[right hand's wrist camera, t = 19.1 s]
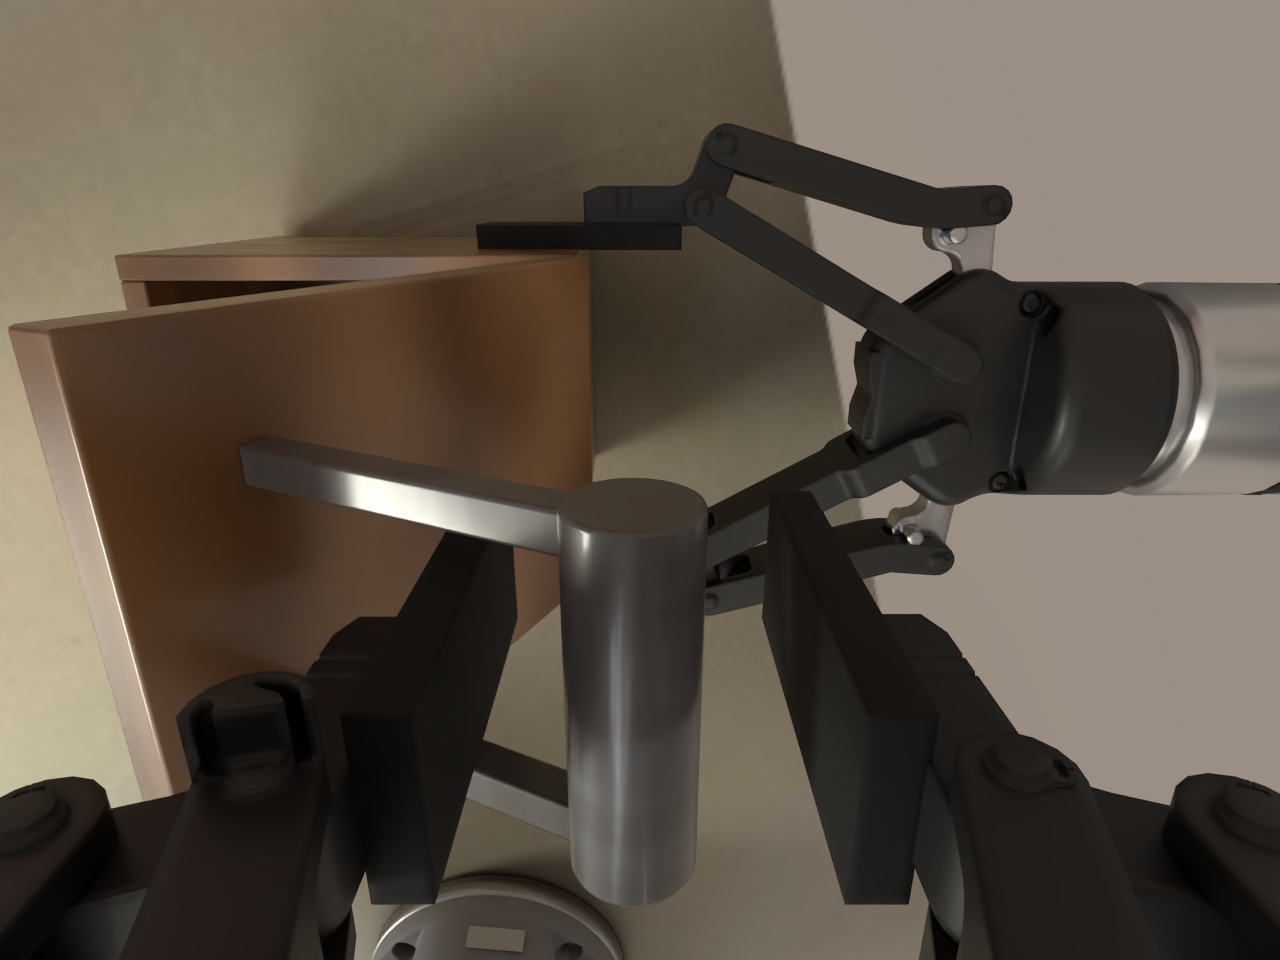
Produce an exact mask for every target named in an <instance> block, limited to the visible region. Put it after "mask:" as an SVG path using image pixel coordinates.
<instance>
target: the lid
mask: <svg viewBox="0 0 1280 960" xmlns="http://www.w3.org/2000/svg"><path fill="white" fill-rule="evenodd" d="M8 332H9V335H10V339H11V342H12V346H13V349H14V353H15V356H16V359H17V363H18V366H19V370H20V373H21V377H22V380H23V384H24V387H25V391H26V394H27V398H28V401H29V405H30V408H31V412H32V415H33V419H34V422H35V426H36V429H37V433H38V436H39V440H40V443H41V447H42V450H43V454H44V457H45V460H46V464H47V467H48V471H49V474H50V478H51V481H52V485H53V488H54V492H55V495H56V499H57V502H58V506H59V509H60V513H61V516H62V520H63V523H64V527H65V530H66V534H67V537H68V541H69V544H70V548H71V551H72V555H73V558H74V562H75V565H76V568H77V572H78V575H79V579H80V582H81V586H82V589H83V593H84V596H85V600H86V603H87V607H88V610H89V614H90V617H91V621H92V624H93V628H94V631H95V635H96V638H97V642H98V645H99V649H100V652H101V656H102V659H103V663H104V666H105V669H106V673H107V676H108V680H109V683H110V687H111V690H112V694H113V697H114V701H115V704H116V708H117V711H118V715H119V718H120V722H121V725H122V729H123V732H124V736H125V739H126V743H127V746H128V750H129V753H130V757H131V760H132V764H133V767H134V770H135V774H136V777H137V781H138V784H139V788H140V791H141V795H142V798H143V802H144V801H149V800H153V799H158V798H162V797H167V796H171V795H174V794H178V793H181V792H184V791H188V790H189V788H190V786H191V783H192V781H191V777H190V773H189V769H188V765H187V761H186V757H185V753H184V750H183V746H182V742H181V738H180V734H179V730H178V726H177V722H176V718H175V717H176V716H177V715H178V714H179V712H180V711H181V710H182V709H183V707H184V706H185V705H186V704H187V703H188V702H189V701H190V700H192V699H193V698H194V697H196V696H197V695H199V694H200V693H202V692H203V691H205V690H206V689H208V688H209V687H212V686H214V685H217V684H219V683H221V682H224V681H226V680H228V679H231V678H233V677H237V676H242V675H246V674H251V673H255V672H262V671H285V672H289V673H293V674H297V675H301V676H302V677H304V678H306V673H307V672H308V670H309V669H310V667H311V666H312V664H313V663H314V662H315V661H318V656H319V654H320V653H321V652H322V650H323V649H324V647H325V646H326V644H327V643H328V642H329V640H330V639H331V637H332V636H333V635H334V634H335V633H337V632H338V631H339V630H341V629H342V628H344V627H345V626H347V625H348V624H350V623H351V622H352V621H354V620H355V619H357V618H358V617H397V615H398V613H399V611H400V610H401V608H402V606H403V604H404V603H405V601H406V599H407V598H408V596H409V594H410V592H411V591H412V589H413V587H414V585H415V584H416V582H417V580H418V579H419V577H420V575H421V573H422V572H423V570H424V568H425V566H426V565H427V563H428V561H429V560H430V558H431V556H432V554H433V553H434V551H435V549H436V547H437V546H438V544H439V542H440V541H441V539H442V537H443V535H444V534H445V532H446V531H448V532H453V533H457V534H461V535H465V536H470V537H474V538H478V539H483V540H487V541H491V542H496V543H500V544H504V545H509V546H513V550H514V565H515V581H516V596H517V612H518V619H517V623H516V626H515V630H514V633H513V637H512V640H511V644H510V646H511V645H512V644H513V643H514V642H515V641H517V640H518V639H519V638H520V637H521V636H523V635H524V634H525V633H526V632H527V631H528V630H530V629H531V628H532V627H533V626H534V625H536V624H537V623H538V622H539V621H540V620H541V619H543V618H544V617H545V616H546V615H547V614H549V613H550V612H551V611H552V610H553V609H554V608H556V607H557V606H558V605H559V604H560V608H561V633H562V658H563V683H564V707H565V732H566V757H567V770H565V769H562V768H559V767H556V766H554V765H551V764H548V763H545V762H543V761H540V760H537V759H535V758H532V757H529V756H526V755H524V754H521V753H518V752H515V751H513V750H510V749H507V748H504V747H502V746H499V745H496V744H493V743H491V742H488V741H485V740H482V744H481V747H480V751H479V754H478V758H477V761H476V765H475V768H474V771H473V775H472V778H471V782H470V785H469V789H468V792H467V796H466V798H467V799H469V800H472V801H474V802H476V803H479V804H481V805H484V806H486V807H489V808H491V809H494V810H496V811H498V812H501V813H503V814H506V815H508V816H511V817H513V818H515V819H518V820H520V821H523V822H525V823H528V824H530V825H533V826H535V827H537V828H540V829H542V830H545V831H547V832H550V833H552V834H555V835H557V836H559V837H562V838H564V839H567V840H569V841H570V856H571V864H572V869H573V871H574V874H575V876H576V877H577V879H578V881H579V882H580V883H581V885H582V886H583V887H584V888H585V889H586V890H587V891H588V892H589V893H590V894H592V895H593V896H595V897H596V898H598V899H600V900H602V901H604V902H606V903H609V904H612V905H616V906H620V907H646V906H650V905H654V904H657V903H660V902H662V901H664V900H666V899H668V898H670V897H671V896H673V895H674V894H676V893H677V892H678V891H679V890H680V889H681V888H682V887H683V886H684V884H685V883H686V882H687V880H688V879H689V877H690V876H691V874H692V871H693V869H694V865H695V861H696V841H697V812H698V784H699V755H700V727H701V698H702V670H703V642H704V613H705V585H706V556H707V528H708V507H707V504H706V502H705V500H704V498H703V497H702V496H701V495H700V494H698V493H697V492H696V491H694V490H692V489H690V488H688V487H685V486H682V485H679V484H676V483H672V482H668V481H663V480H656V479H646V478H619V479H610V480H603V481H598V482H593V481H592V435H591V390H590V344H589V299H588V260H587V258H585V257H561V256H558V257H550V258H542V259H534V260H526V261H518V262H510V263H502V264H494V265H486V266H478V267H470V268H462V269H454V270H446V271H438V272H430V273H421V274H413V275H405V276H397V277H389V278H381V279H373V280H365V281H357V282H349V283H341V284H333V285H325V286H317V287H309V288H301V289H293V290H285V291H277V292H268V293H260V294H252V295H244V296H236V297H228V298H220V299H212V300H204V301H196V302H188V303H180V304H172V305H164V306H156V307H148V308H140V309H132V310H124V311H115V312H107V313H99V314H91V315H83V316H75V317H67V318H59V319H51V320H43V321H35V322H27V323H19V324H13V325H12V326H10V327H9V329H8Z"/></svg>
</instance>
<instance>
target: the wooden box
mask: <svg viewBox="0 0 1280 960" xmlns="http://www.w3.org/2000/svg"><path fill="white" fill-rule="evenodd" d="M558 256H561V257H585V258H587V260H588V299H589V344H590V390H591V435H592V480H593V471H594V463H595V422H594V373H593V324H592V275H591V250H579V249H478V244H477V236H277V237H269V238H260V239H252V240H243V241H234V242H226V243H217V244H209V245H200V246H191V247H183V248H174V249H166V250H157V251H148V252H140V253H131V254H123V255H116V256H115V260H116V265H117V269H118V273H119V278H120V280H122V281H123V282H122V283H121V285H122V289H123V293H124V298H125V302H126V306H127V310H132V309H140V308H148V307H156V306H164V305H172V304H180V303H188V302H196V301H204V300H212V299H220V298H228V297H236V296H244V295H252V294H260V293H268V292H277V291H285V290H293V289H301V288H309V287H317V286H325V285H333V284H341V283H349V282H357V281H365V280H373V279H381V278H389V277H397V276H405V275H413V274H421V273H430V272H438V271H446V270H454V269H462V268H470V267H478V266H486V265H494V264H502V263H510V262H518V261H526V260H534V259H542V258H550V257H558Z"/></svg>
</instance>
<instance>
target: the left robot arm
mask: <svg viewBox="0 0 1280 960" xmlns="http://www.w3.org/2000/svg"><path fill="white" fill-rule="evenodd" d="M734 174H736V175H739V176H743V177H746V178H749V179H752V180H756V181H759V182H762V183H765V184H769V185H772V186H775V187H778V188H782V189H785V190H788V191H791V192H795V193H798V194H801V195H804V196H808V197H811V198H814V199H817V200H821V201H824V202H827V203H830V204H834V205H837V206H840V207H843V208H847V209H850V210H853V211H857V212H859V213H863V214H866V215H869V216H873V217H876V218H879V219H882V220H885V221H889V222H893V223H897V224H902V225H910V226H918V227H923V240H924V242H925V244H926V245H927V247H929V248H930V249H932V250H936V251H941V252H943V253H945V254H947V256H948V257H949V258H950V260H951V263H952V270H950V271H948V272H947V273H945V274H944V275H943V276H941V277H940V278H938V279H937V280H935V281H934V282H932V283H931V284H929V285H928V286H926V287H925V288H923V289H922V290H920V291H919V292H917V293H916V294H914V295H913V296H911V297H910V298H908V299H907V300H905V301H904V302H903V303H901V304H900V303H899V302H897V301H895V300H894V299H892V298H891V297H889V296H887V295H885V294H884V293H882V292H880V291H878V290H876V289H875V288H873V287H871V286H870V285H868V284H866V283H865V282H863V281H861V280H860V279H858V278H857V277H855V276H853V275H852V274H850V273H848V272H847V271H845V270H844V269H842V268H840V267H839V266H837V265H835V264H834V263H832V262H831V261H829V260H827V259H826V258H824V257H823V256H821V255H819V254H818V253H816V252H814V251H813V250H811V249H810V248H808V247H806V246H805V245H803V244H801V243H800V242H798V241H797V240H795V239H793V238H792V237H790V236H788V235H787V234H785V233H784V232H782V231H780V230H779V229H777V228H775V227H774V226H772V225H771V224H769V223H767V222H766V221H764V220H762V219H761V218H759V217H758V216H756V215H754V214H753V213H751V212H750V211H748V210H746V209H745V208H743V207H741V206H740V205H738V204H737V203H735V202H733V201H732V200H730V199H728V198H727V197H726V195H727V192H728V189H729V187H730V184H731V181H732V179H733V176H734ZM1012 204H1013V203H1012V196H1011V194H1010V192H1009V191H1008V190H1007V189H1006V188H1004V187H1003V186H997V185H983V186H959V187H946V188H935V187H932V186H929V185H925V184H922V183H919V182H916V181H913V180H910V179H906V178H903V177H900V176H897V175H893V174H890V173H887V172H884V171H881V170H878V169H875V168H871V167H868V166H865V165H862V164H859V163H855V162H852V161H849V160H846V159H843V158H840V157H836V156H833V155H830V154H827V153H824V152H820V151H817V150H814V149H811V148H808V147H805V146H801V145H798V144H795V143H792V142H789V141H785V140H782V139H779V138H776V137H773V136H770V135H766V134H763V133H760V132H757V131H754V130H750V129H747V128H744V127H741V126H738V125H734V124H728V123H724V124H721V125H718V126H717V127H716V128H714V129H713V130H712V131H711V132H710V133H709V134H708V135H707V136H706V137H705V138H704V140H703V143H702V147H701V150H700V152H699V155H698V158H697V161H696V163H695V166H694V169H693V171H692V173H691V175H690V176H689V178H688V179H687V180H686V181H685V182H683V183H682V184H680V185H677V186H598V187H596V188H593V189H591V190H589V191H586V192H584V222H489V223H484V224H478V225H476V230H477V244H478V249H579V250H681V238H682V226H697V227H698V228H700V229H702V230H703V231H705V232H707V233H708V234H710V235H712V236H713V237H715V238H717V239H718V240H720V241H722V242H723V243H725V244H727V245H728V246H730V247H732V248H733V249H735V250H737V251H738V252H740V253H742V254H743V255H745V256H747V257H748V258H750V259H751V260H753V261H755V262H756V263H758V264H760V265H761V266H763V267H765V268H766V269H768V270H770V271H771V272H773V273H775V274H776V275H778V276H780V277H781V278H783V279H785V280H786V281H788V282H790V283H791V284H793V285H795V286H796V287H798V288H799V289H801V290H803V291H804V292H806V293H808V294H809V295H811V296H813V297H814V298H816V299H818V300H819V301H821V302H823V303H824V304H826V305H828V306H829V307H831V308H833V309H834V310H836V311H838V312H839V313H841V314H842V315H844V316H846V317H848V318H849V319H851V320H853V321H854V322H856V323H857V324H859V325H861V326H862V327H864V328H866V329H867V331H866V332H865V334H864V336H863V337H862V340H861V342H856V345H855V355H854V367H855V372H856V378H857V386H856V388H855V391H854V394H853V396H852V399H851V401H850V405H849V415H848V424H849V425H850V427H851V428H852V429H851V430H849V431H847V432H845V433H843V434H841V435H839V436H837V437H835V438H833V439H832V440H830V441H829V442H828V443H827V444H826V445H825V447H824V448H823V449H822V450H820V451H819V452H817V453H815V454H813V455H811V456H809V457H807V458H805V459H803V460H801V461H799V462H797V463H795V464H793V465H791V466H789V467H787V468H785V469H783V470H781V471H779V472H777V473H776V474H774V475H772V476H770V477H768V478H766V479H764V480H762V481H760V482H758V483H756V484H754V485H752V486H750V487H748V488H746V489H744V490H742V491H740V492H738V493H736V494H734V495H732V496H731V497H729V498H727V499H725V500H723V501H721V502H719V503H717V504H715V505H713V506H711V507H709V508H708V528H707V556H706V585H705V613H704V615H707V616H708V615H716V614H720V613H724V612H728V611H732V610H736V609H741V608H745V607H749V606H753V605H757V604H761V603H763V596H764V581H765V565H766V549H767V544H763V545H759V546H755V545H757V544H759V543H761V542H763V541H765V540H767V534H768V518H769V503H770V491H811V492H812V494H813V496H814V497H815V499H816V501H817V503H818V504H819V506H820V508H821V510H822V511H823V512H824V511H826V510H828V509H830V508H832V507H834V506H836V505H838V504H840V503H842V502H844V501H846V500H848V499H851V498H865V497H868V496H870V495H872V494H874V493H876V492H878V491H880V490H882V489H884V488H887V487H888V486H891V485H893V484H895V483H897V482H899V481H901V480H902V481H903V482H905V483H906V484H907V485H909V486H910V487H911V488H913V489H914V490H915V491H917V492H918V493H919V494H920V495H919V498H918V499H917V501H916V502H914V503H913V504H912V505H910V506H908V507H902V508H893V509H892V510H891V511H890V512H889V516H888V518H874V519H865V520H860V521H855V522H851V523H847V524H843V525H839V526H835V527H832V528H833V530H834V532H835V534H836V535H837V537H838V539H839V541H840V542H841V544H842V546H843V547H844V549H845V551H846V553H847V554H848V556H849V558H850V560H851V561H852V563H853V565H854V566H855V568H856V570H857V572H858V573H859V575H860V577H861V579H865V578H869V577H873V576H877V575H881V574H885V573H889V572H896V573H910V574H925V575H941V574H943V573H946V572H947V571H948V570H949V569H950V568H951V567H952V566H953V563H954V555H953V553H952V551H951V550H950V549H949V547H948V546H947V545H946V543H945V542H946V537H947V533H948V529H949V524H950V520H951V516H952V512H953V507H954V505H956V504H959V503H962V502H964V501H966V500H968V499H970V498H972V497H975V496H978V495H981V494H986V493H1004V494H1021V495H1104V494H1112V493H1115V492H1118V491H1120V492H1123V493H1127V494H1131V495H1206V494H1207V495H1208V494H1243V495H1262V494H1280V283H1175V282H1151V283H1143V284H1141V285H1138V286H1134V285H1132V284H1129V283H1125V282H1015V281H1009V280H1007V279H1005V278H1004V277H1002V276H1001V275H999V274H998V273H996V272H994V271H992V261H993V249H994V237H995V226H996V224H999V223H1000V222H1002V221H1003V220H1005V219H1006V217H1007V216H1008V215H1009V213H1010V212H1011V208H1012ZM753 546H755V547H753ZM371 960H623V955H622V951H621V948H620V945H619V943H618V941H617V939H616V937H615V935H614V933H613V932H612V930H611V929H610V927H609V926H608V924H607V923H606V922H605V921H604V920H603V918H602V917H601V916H600V915H598V914H597V913H596V912H595V911H594V910H593V909H592V908H591V907H589V906H588V905H587V904H586V903H584V902H582V901H581V900H579V899H578V898H576V897H575V896H573V895H571V894H569V893H567V892H565V891H563V890H561V889H559V888H556V887H554V886H551V885H548V884H545V883H542V882H539V881H535V880H531V879H526V878H521V877H514V876H504V875H480V876H470V877H464V878H458V879H453V880H450V881H446V882H443V883H441V885H440V889H439V892H438V896H437V899H436V903H435V904H402V905H401V906H400V907H399V908H398V909H397V910H396V911H395V912H394V913H393V914H392V915H391V917H390V918H389V919H388V921H387V922H386V924H385V925H384V927H383V929H382V931H381V933H380V936H379V939H378V941H377V944H376V947H375V950H374V953H373V956H372V959H371Z"/></svg>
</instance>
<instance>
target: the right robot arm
mask: <svg viewBox="0 0 1280 960" xmlns="http://www.w3.org/2000/svg"><path fill="white" fill-rule="evenodd" d="M517 619H518V612H517V596H516V581H515V565H514V550H513V546H509V545H504V544H500V543H496V542H491V541H487V540H483V539H478V538H474V537H470V536H465V535H461V534H457V533H453V532H448V531H446V532H445V534H444V535H443V537H442V539H441V541H440V542H439V544H438V546H437V547H436V549H435V551H434V553H433V554H432V556H431V558H430V560H429V561H428V563H427V565H426V566H425V568H424V570H423V572H422V573H421V575H420V577H419V579H418V580H417V582H416V584H415V585H414V587H413V589H412V591H411V592H410V594H409V596H408V598H407V599H406V601H405V603H404V604H403V606H402V608H401V610H400V611H399V613H398V615H397V617H358V618H357V619H355V620H354V621H352V622H351V623H350V624H348V625H347V626H345V627H344V628H342V629H341V630H339V631H338V632H337V633H335V634H334V635H333V636H332V637H331V639H330V640H329V642H328V643H327V644H326V646H325V647H324V649H323V650H322V652H321V653H320V654H319V656H318V661H315V662H314V663H313V664H312V666H311V667H310V669H309V670H308V672H307V673H306V678H304V677H302V676H301V675H297V674H293V673H289V672H285V671H262V672H255V673H251V674H246V675H242V676H237V677H233V678H231V679H228V680H226V681H224V682H221V683H219V684H217V685H214V686H212V687H209V688H208V689H206V690H205V691H203V692H202V693H200V694H199V695H197V696H196V697H194V698H193V699H192V700H190V701H189V702H188V703H187V704H186V705H185V706H184V707H183V709H182V710H181V711H180V712H179V714H178V715H177V716H176V717H175V718H176V722H177V726H178V730H179V734H180V738H181V742H182V746H183V750H184V753H185V757H186V761H187V765H188V769H189V773H190V777H191V781H192V783H191V786H190V788H189V790H188V791H184V792H181V793H178V794H174V795H171V796H167V797H162V798H158V799H153V800H149V801H144V802H140V803H135V804H131V805H126V806H121V807H117V808H112V809H111V807H110V804H109V800H108V797H107V794H106V791H105V789H104V788H103V787H102V786H101V785H99V784H98V783H97V782H96V781H95V780H93V779H86V778H80V777H74V776H72V777H64V778H57V779H49V780H44V781H41V782H38V783H34V784H32V785H29V786H28V785H27V786H25V787H22V788H19V789H16V790H14V791H12V792H10V793H8V794H6V795H4V796H2V797H0V960H354V953H355V943H356V931H355V924H354V917H353V911H352V906H351V905H352V903H353V900H354V898H355V895H356V893H357V890H358V888H359V885H360V883H361V881H362V878H363V876H364V873H365V871H366V875H367V881H368V887H369V893H370V899H371V904H435V903H436V899H437V896H438V892H439V889H440V885H441V882H442V879H443V875H444V872H445V868H446V865H447V861H448V858H449V854H450V851H451V847H452V844H453V841H454V837H455V834H456V830H457V827H458V823H459V820H460V816H461V813H462V809H463V806H464V803H465V799H466V796H467V792H468V789H469V785H470V782H471V778H472V775H473V771H474V768H475V765H476V761H477V758H478V754H479V751H480V747H481V744H482V740H483V737H484V733H485V730H486V727H487V723H488V720H489V716H490V713H491V709H492V706H493V702H494V699H495V695H496V692H497V689H498V685H499V682H500V678H501V675H502V671H503V668H504V664H505V661H506V657H507V654H508V651H509V647H510V644H511V640H512V637H513V633H514V630H515V626H516V623H517ZM762 619H763V623H764V626H765V630H766V633H767V637H768V640H769V644H770V647H771V651H772V654H773V657H774V661H775V664H776V668H777V671H778V675H779V678H780V682H781V685H782V689H783V692H784V695H785V699H786V702H787V706H788V709H789V713H790V716H791V720H792V723H793V727H794V730H795V733H796V737H797V740H798V744H799V747H800V751H801V754H802V758H803V761H804V765H805V768H806V771H807V775H808V778H809V782H810V785H811V789H812V792H813V796H814V799H815V803H816V806H817V809H818V813H819V816H820V820H821V823H822V827H823V830H824V834H825V837H826V841H827V844H828V847H829V851H830V854H831V858H832V861H833V865H834V868H835V872H836V875H837V879H838V882H839V885H840V889H841V892H842V896H843V899H844V903H845V904H909V899H910V893H911V887H912V881H913V875H914V869H916V872H917V874H918V877H919V879H920V882H921V884H922V887H923V889H924V891H925V894H926V896H927V899H928V901H929V906H928V911H927V917H926V923H925V928H924V934H923V939H922V945H921V951H920V956H919V960H1280V793H1278V792H1276V791H1274V790H1272V789H1270V788H1268V787H1266V786H1263V785H1260V784H1258V783H1255V782H1250V781H1249V780H1245V779H1241V778H1238V777H1234V776H1227V775H1219V774H1211V773H1206V774H1199V775H1193V776H1187V777H1186V778H1185V779H1184V780H1183V781H1181V782H1180V783H1179V784H1178V785H1177V786H1176V787H1175V791H1174V794H1173V797H1172V801H1171V804H1170V806H1169V805H1164V804H1160V803H1155V802H1151V801H1146V800H1142V799H1137V798H1133V797H1128V796H1124V795H1119V794H1114V793H1110V792H1107V791H1103V790H1100V789H1097V788H1093V787H1090V784H1089V782H1088V780H1087V779H1086V777H1085V776H1084V775H1083V773H1082V772H1081V770H1080V769H1079V767H1078V766H1077V764H1075V763H1074V762H1073V761H1071V760H1070V759H1069V758H1068V757H1066V756H1065V755H1064V754H1062V753H1061V752H1060V751H1059V750H1057V749H1056V748H1053V747H1051V746H1049V745H1047V744H1045V743H1043V742H1041V741H1039V740H1037V739H1035V738H1032V737H1028V736H1024V735H1021V734H1018V732H1017V731H1016V729H1015V728H1014V727H1013V725H1012V724H1011V722H1010V721H1009V719H1008V718H1007V717H1006V715H1005V714H1004V712H1003V711H1002V710H1001V708H1000V707H999V705H998V704H997V702H996V701H995V700H994V698H993V697H992V695H991V694H990V692H989V691H988V690H987V688H986V687H985V685H984V684H983V683H982V681H981V680H980V678H979V677H978V676H975V671H974V670H973V668H972V667H971V665H970V664H969V663H968V661H967V660H966V658H963V657H962V653H961V651H960V650H959V648H958V647H957V646H956V644H955V643H954V641H953V640H952V638H951V637H950V636H949V634H948V633H947V632H946V631H944V630H943V629H942V628H940V627H939V626H937V625H936V624H934V623H933V622H931V621H930V620H928V619H927V618H926V617H924V616H923V615H921V614H882V613H881V611H880V610H879V608H878V606H877V604H876V603H875V601H874V599H873V598H872V596H871V594H870V592H869V591H868V589H867V587H866V585H865V584H864V582H863V580H862V579H861V577H860V575H859V573H858V572H857V570H856V568H855V566H854V565H853V563H852V561H851V560H850V558H849V556H848V554H847V553H846V551H845V549H844V547H843V546H842V544H841V542H840V541H839V539H838V537H837V535H836V534H835V532H834V530H833V528H832V527H831V525H830V523H829V522H828V520H827V518H826V516H825V515H824V513H823V511H822V510H821V508H820V506H819V504H818V503H817V501H816V499H815V497H814V496H813V494H812V492H811V491H770V503H769V518H768V534H767V549H766V565H765V581H764V596H763V612H762Z"/></svg>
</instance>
